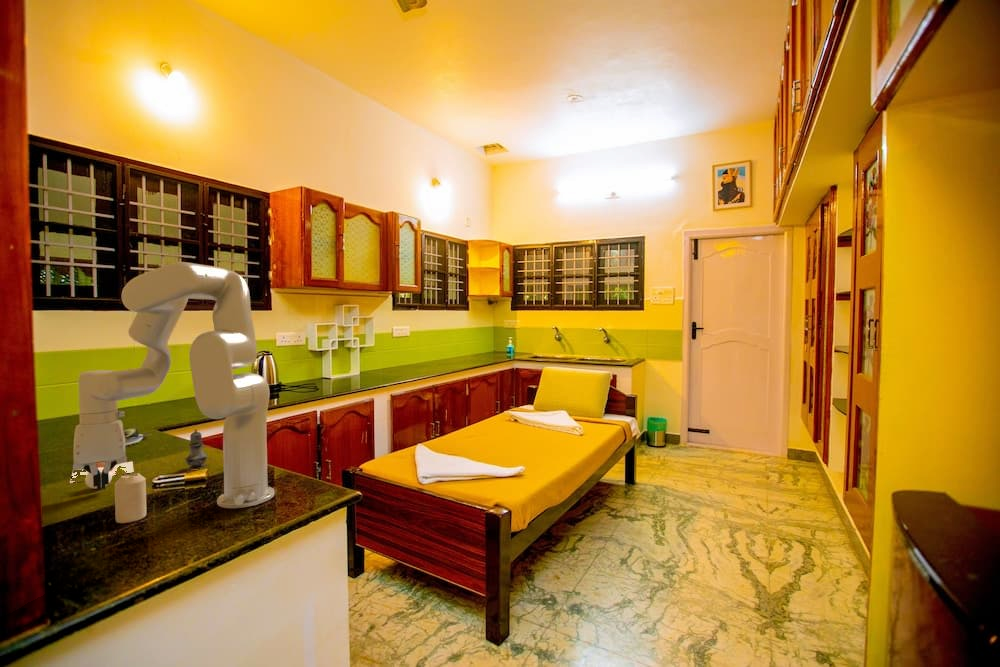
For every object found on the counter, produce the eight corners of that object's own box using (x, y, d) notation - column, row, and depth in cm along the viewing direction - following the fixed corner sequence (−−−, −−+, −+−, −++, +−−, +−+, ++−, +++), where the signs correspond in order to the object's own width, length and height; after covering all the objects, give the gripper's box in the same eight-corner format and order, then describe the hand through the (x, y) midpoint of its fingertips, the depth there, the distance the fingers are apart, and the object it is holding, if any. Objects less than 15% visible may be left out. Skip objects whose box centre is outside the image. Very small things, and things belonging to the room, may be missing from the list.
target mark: (133, 472, 137) (133, 472, 137) (69, 483, 128) (69, 482, 128) (132, 461, 148) (132, 461, 148) (73, 471, 139) (73, 470, 139)
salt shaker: (196, 471, 137) (195, 431, 137) (180, 470, 139) (179, 431, 138) (212, 465, 143) (211, 427, 143) (196, 464, 144) (195, 426, 144)
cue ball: (106, 460, 127) (108, 477, 129) (80, 469, 123) (83, 486, 124) (114, 469, 124) (116, 486, 126) (88, 478, 120) (91, 496, 122)
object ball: (111, 451, 138) (112, 468, 139) (87, 456, 134) (88, 474, 135) (116, 457, 135) (117, 475, 136) (92, 462, 131) (93, 480, 132)
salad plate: (138, 449, 165) (138, 436, 165) (73, 455, 157) (73, 442, 157) (151, 437, 182) (151, 425, 182) (93, 442, 174) (93, 430, 174)
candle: (142, 511, 109) (141, 469, 109) (149, 517, 105) (148, 474, 105) (112, 519, 105) (111, 475, 104) (119, 525, 101) (117, 480, 101)
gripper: (135, 412, 127) (137, 478, 128) (60, 420, 118) (63, 491, 118) (136, 416, 122) (138, 485, 122) (58, 424, 112) (60, 499, 113)
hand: (101, 488), depth 120 cm, fingers closed
